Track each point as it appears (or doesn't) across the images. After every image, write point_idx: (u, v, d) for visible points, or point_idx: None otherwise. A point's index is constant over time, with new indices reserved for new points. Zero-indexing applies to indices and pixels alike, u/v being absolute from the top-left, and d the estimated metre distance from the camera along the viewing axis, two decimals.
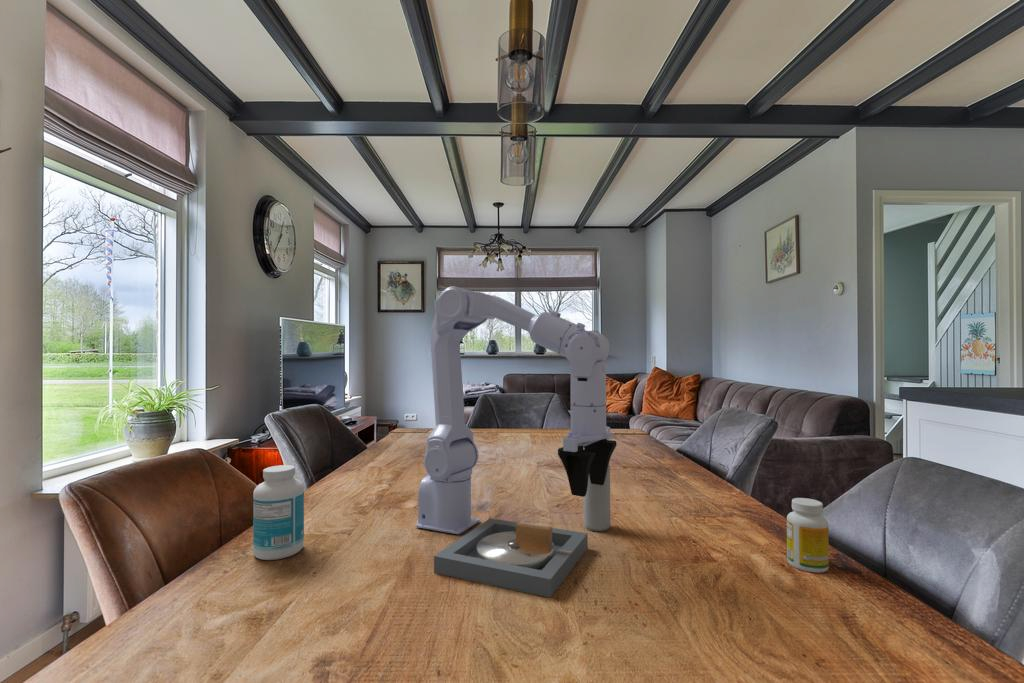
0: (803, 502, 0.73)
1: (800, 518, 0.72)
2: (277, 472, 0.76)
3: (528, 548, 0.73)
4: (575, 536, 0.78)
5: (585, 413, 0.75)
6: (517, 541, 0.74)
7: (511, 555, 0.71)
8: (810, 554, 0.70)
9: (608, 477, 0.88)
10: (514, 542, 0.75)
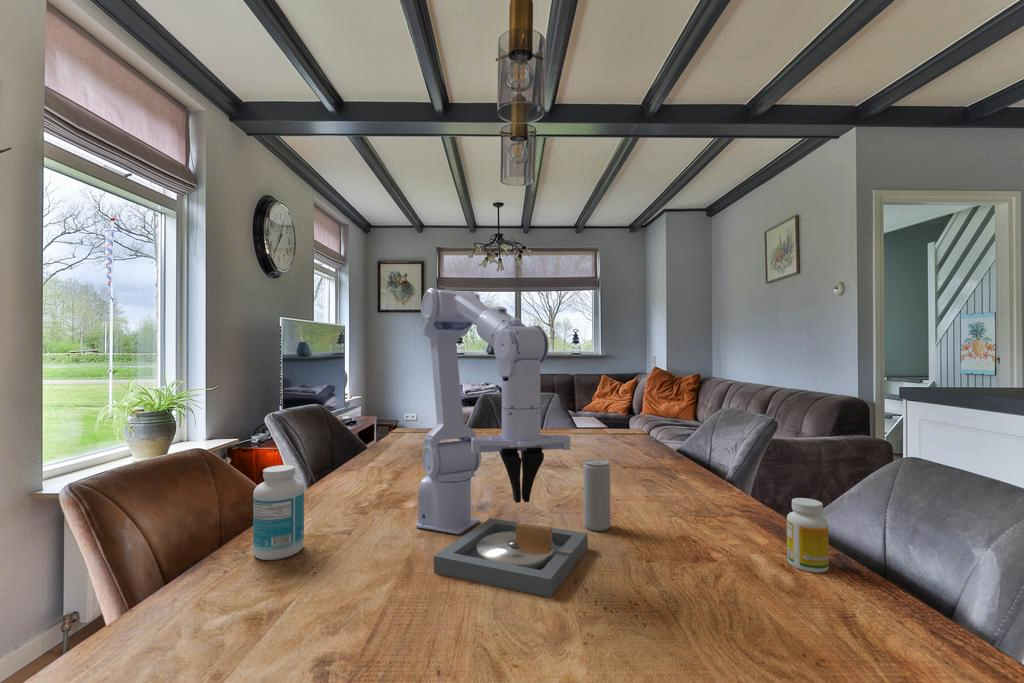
0: (803, 502, 0.73)
1: (800, 518, 0.72)
2: (277, 472, 0.76)
3: (528, 548, 0.73)
4: (575, 536, 0.78)
5: (503, 415, 0.70)
6: (517, 541, 0.74)
7: (511, 555, 0.71)
8: (810, 554, 0.70)
9: (608, 477, 0.88)
10: (514, 542, 0.75)
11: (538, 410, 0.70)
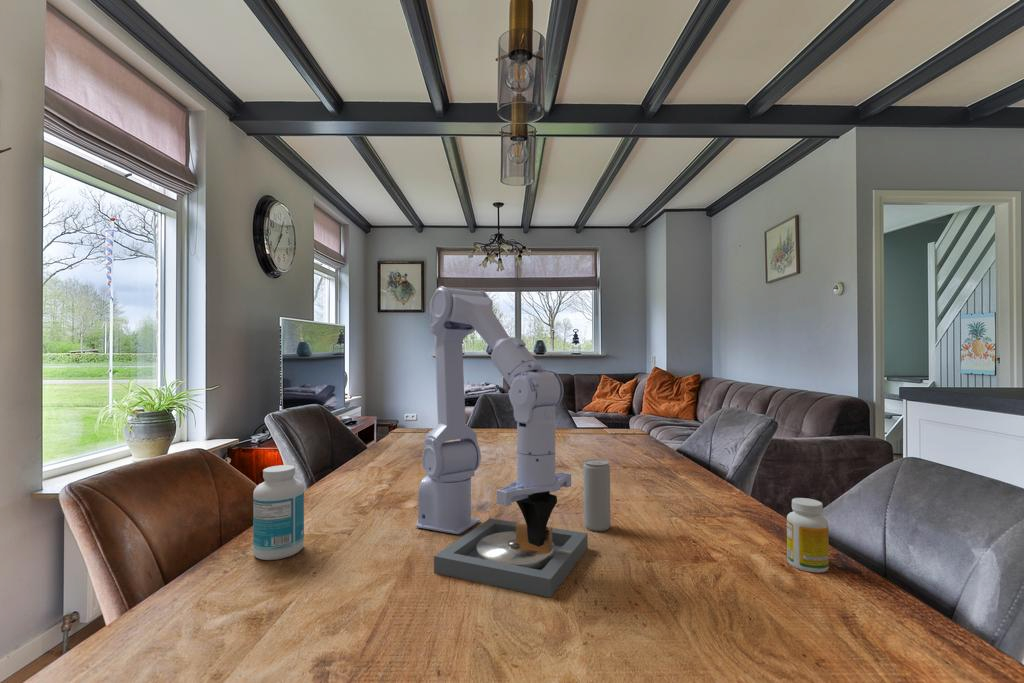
0: (803, 502, 0.73)
1: (800, 518, 0.72)
2: (277, 472, 0.76)
3: (528, 548, 0.73)
4: (575, 536, 0.78)
5: (527, 462, 0.70)
6: (517, 541, 0.74)
7: (511, 555, 0.71)
8: (810, 554, 0.70)
9: (608, 477, 0.88)
10: (514, 542, 0.75)
11: (554, 453, 0.73)
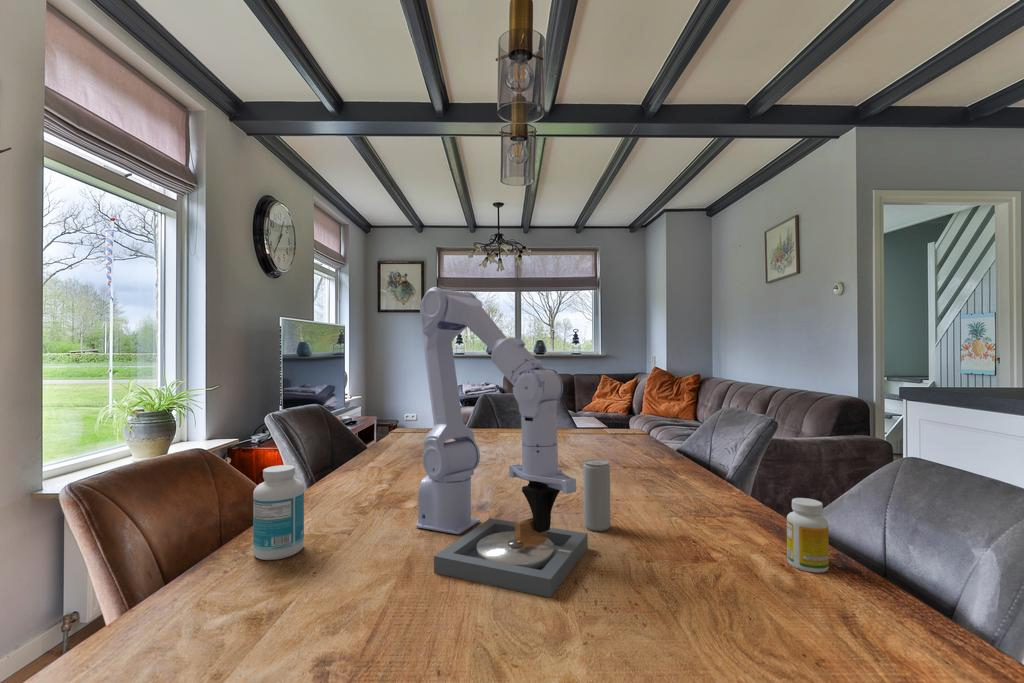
0: (803, 502, 0.73)
1: (800, 518, 0.72)
2: (277, 472, 0.76)
3: (530, 541, 0.76)
4: (575, 536, 0.78)
5: (554, 452, 0.76)
6: (521, 539, 0.75)
7: (536, 551, 0.73)
8: (810, 554, 0.70)
9: (608, 477, 0.88)
10: (515, 542, 0.75)
11: None
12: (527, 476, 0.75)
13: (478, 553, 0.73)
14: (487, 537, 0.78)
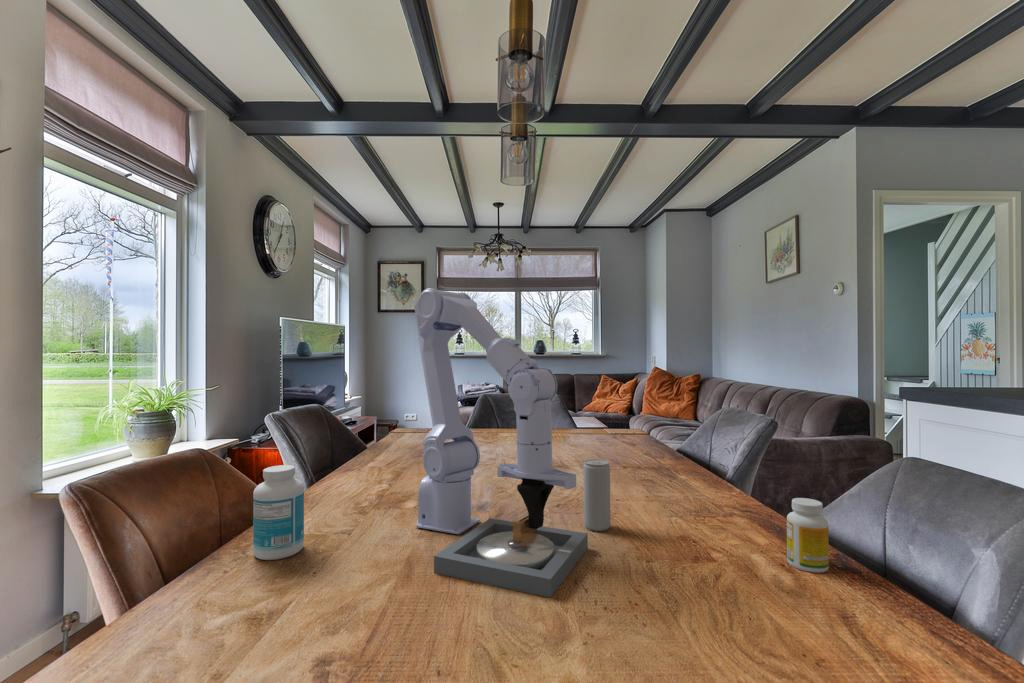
0: (803, 502, 0.73)
1: (800, 518, 0.72)
2: (277, 472, 0.76)
3: (527, 539, 0.77)
4: (575, 536, 0.78)
5: (550, 449, 0.78)
6: (521, 538, 0.75)
7: (540, 547, 0.74)
8: (810, 554, 0.70)
9: (608, 477, 0.88)
10: (516, 542, 0.75)
11: None
12: (526, 474, 0.76)
13: (485, 558, 0.71)
14: (481, 542, 0.76)
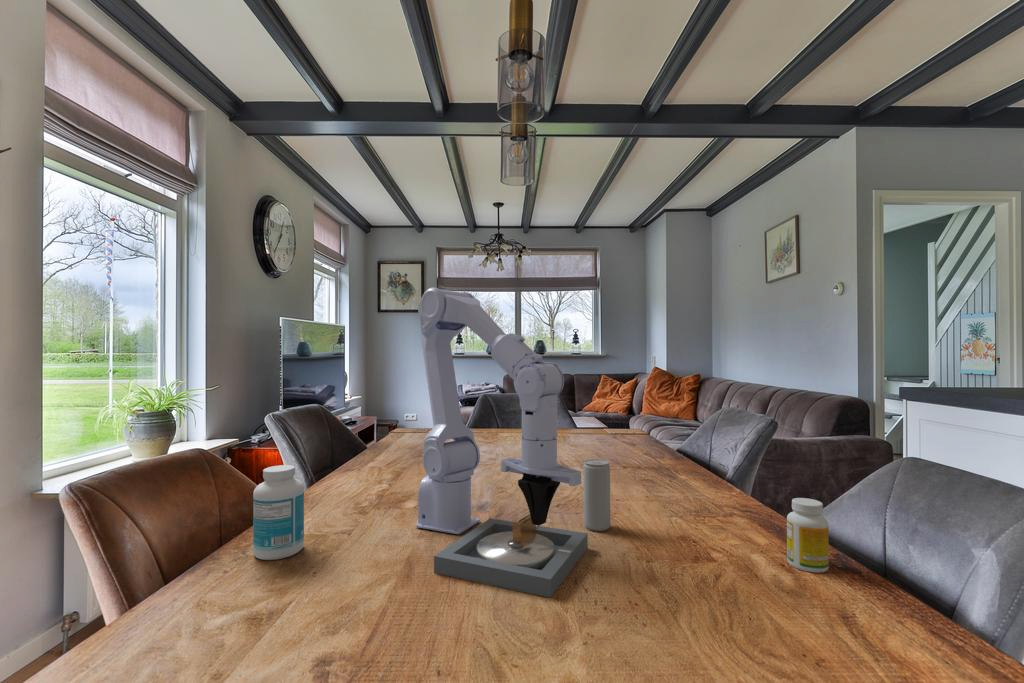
0: (803, 502, 0.73)
1: (800, 518, 0.72)
2: (277, 472, 0.76)
3: (526, 539, 0.77)
4: (575, 536, 0.78)
5: (555, 446, 0.77)
6: (521, 538, 0.75)
7: (540, 547, 0.74)
8: (810, 554, 0.70)
9: (608, 477, 0.88)
10: (516, 542, 0.75)
11: None
12: (530, 470, 0.75)
13: (486, 559, 0.71)
14: (480, 542, 0.76)
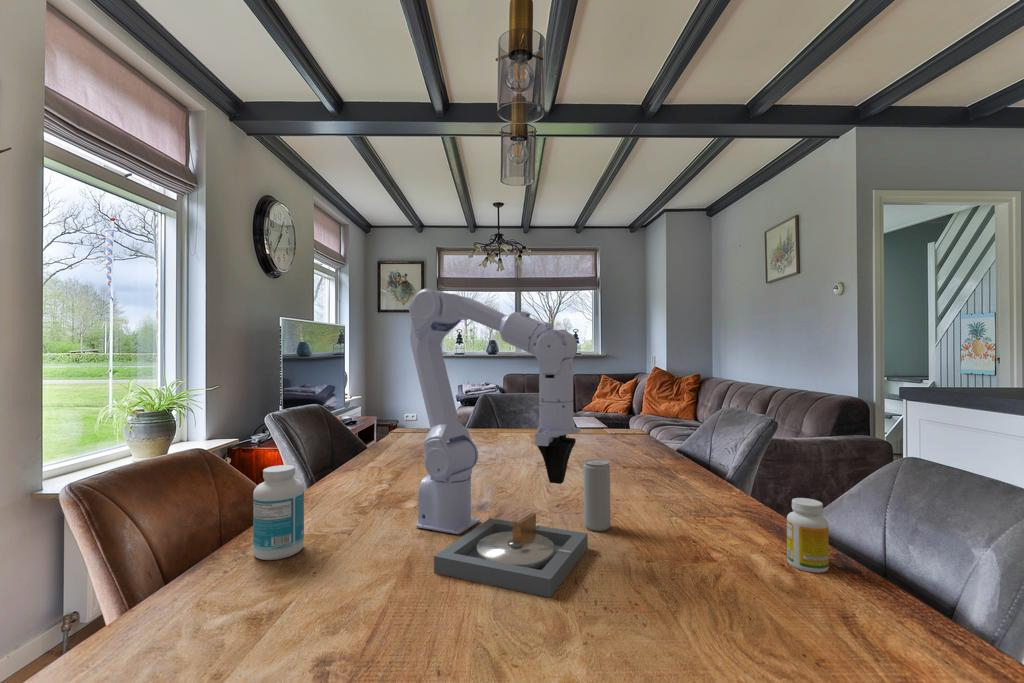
0: (803, 502, 0.73)
1: (800, 518, 0.72)
2: (277, 472, 0.76)
3: (526, 539, 0.77)
4: (575, 536, 0.78)
5: (554, 409, 0.79)
6: (521, 538, 0.75)
7: (540, 547, 0.74)
8: (810, 554, 0.70)
9: (608, 477, 0.88)
10: (516, 542, 0.75)
11: (570, 402, 0.83)
12: None
13: (486, 559, 0.71)
14: (480, 542, 0.76)
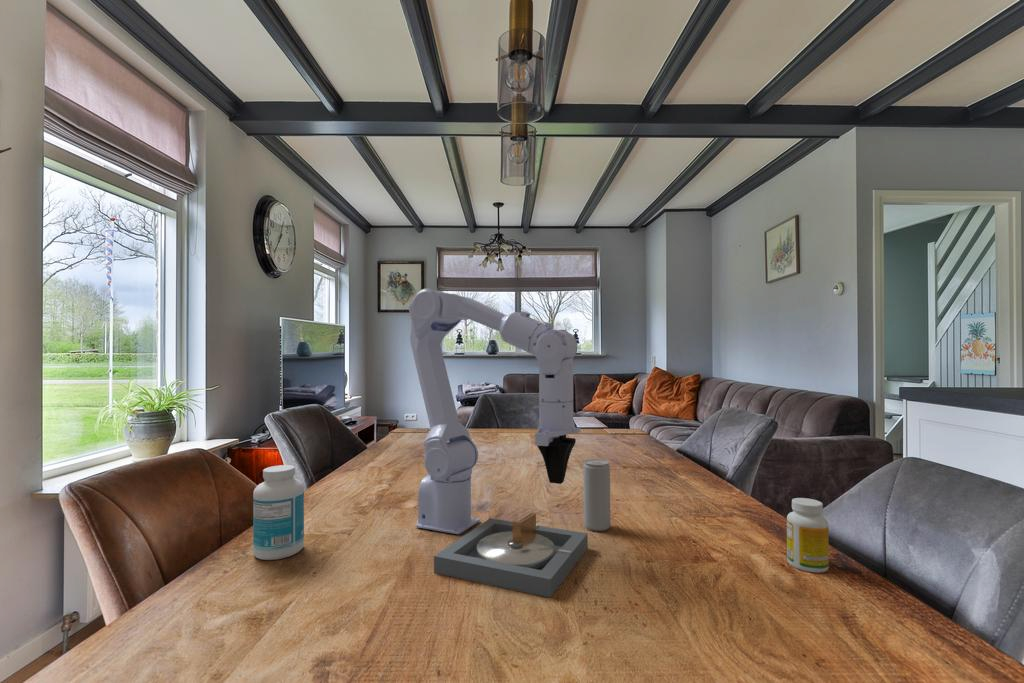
0: (803, 502, 0.73)
1: (800, 518, 0.72)
2: (277, 472, 0.76)
3: (526, 539, 0.77)
4: (575, 536, 0.78)
5: (554, 409, 0.79)
6: (521, 538, 0.75)
7: (540, 547, 0.74)
8: (810, 554, 0.70)
9: (608, 477, 0.88)
10: (516, 542, 0.75)
11: (570, 402, 0.83)
12: None
13: (486, 559, 0.71)
14: (480, 542, 0.76)
